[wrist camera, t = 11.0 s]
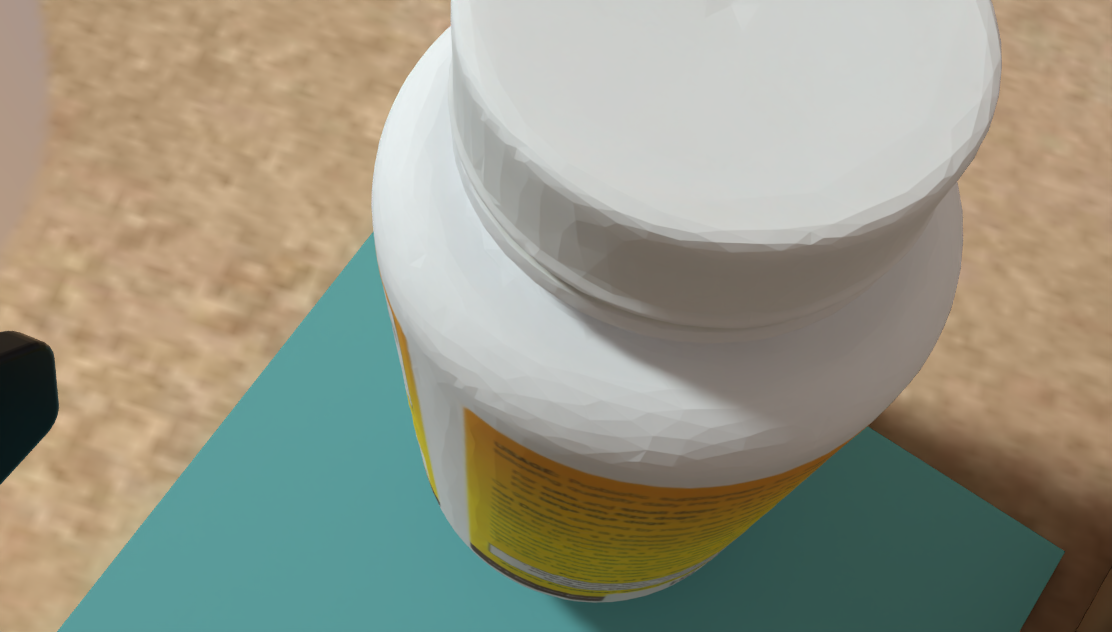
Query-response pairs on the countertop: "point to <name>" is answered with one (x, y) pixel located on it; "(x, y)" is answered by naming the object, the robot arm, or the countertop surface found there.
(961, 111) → the supplement bottle
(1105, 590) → the walnut lane
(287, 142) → the countertop surface
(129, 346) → the countertop surface
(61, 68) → the countertop surface
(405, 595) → the teal mat
